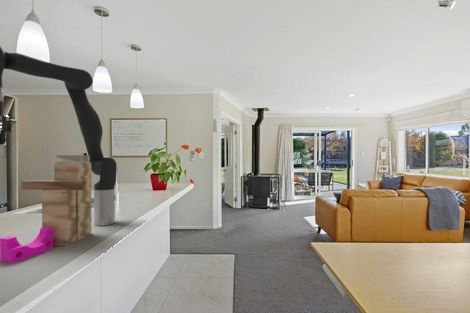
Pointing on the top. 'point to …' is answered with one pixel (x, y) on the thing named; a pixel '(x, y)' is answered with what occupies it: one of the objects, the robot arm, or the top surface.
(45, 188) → the walnut bar
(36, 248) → the toy block
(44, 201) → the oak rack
